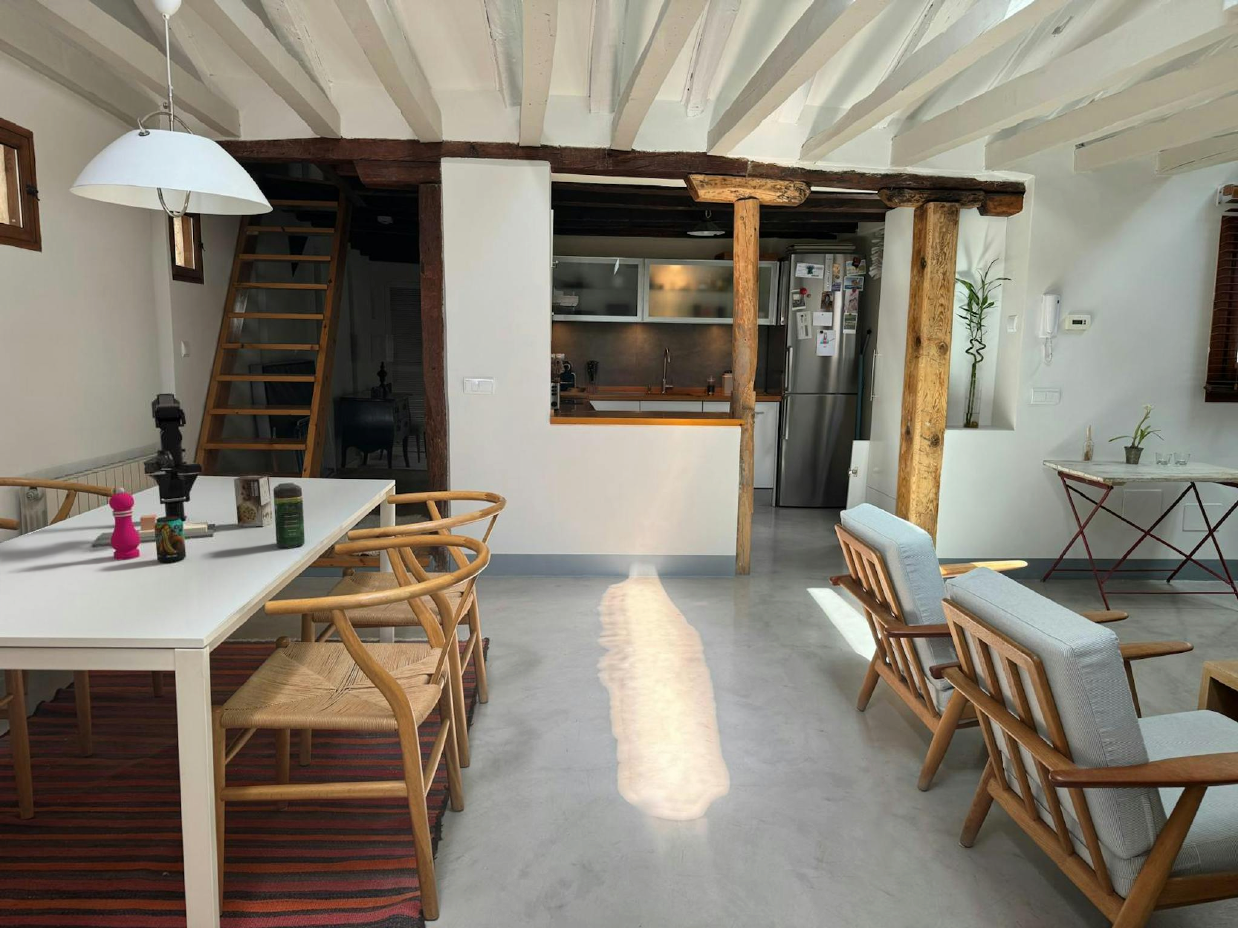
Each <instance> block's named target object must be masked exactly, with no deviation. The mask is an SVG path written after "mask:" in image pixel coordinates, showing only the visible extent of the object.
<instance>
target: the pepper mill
mask: <svg viewBox="0 0 1238 928" xmlns="http://www.w3.org/2000/svg"><path fill="white" fill-rule="evenodd" d="M108 505H109V507H110V508H111V509H112V511H111V513H112V517H113V518H114V529H113V531H112V532H113V534H112V537H111V546H110V547H111V548H112V549H113V550H115V551H114V552H113V559H114V560H118V561H122V560H123V561H124V560H131V559H132V558H133V559H135V558H138V557H140V556H141V555H140V554H141V553H140V549H139V548H138V547H139V546H140V544H141V543H140V537H139V534H138V533H137V531H136V530H137V529H136V527H135V526H134V522H133V516H132V515H134V509H133V507H134V505H135V500H134V497H133V496H132V495H131V493H127V492H125V489H124V487H118V488H117V490H116V493H115V494H113V495H112V496H111V497H110V498H109V501H108ZM133 559H132V560H133Z"/></svg>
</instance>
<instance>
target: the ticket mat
mask: <svg viewBox="0 0 1238 928" xmlns="http://www.w3.org/2000/svg"><path fill="white" fill-rule="evenodd" d="M183 526H184V538H185V540H189V539H190V538H192V539H201V538H211V537H212V538H213V537H214V533H215V530H216V523H208V522H207V521H203V522H193V523H192V522H191V523H183ZM136 531H137V533H138V532H139V531H140V529H136ZM112 534H113V531H110V532H102V533H100V534H99V536H98V537H97V539H96V540H95V541H94V542H93V543H92V548H97V546H101V547H111V537H112ZM138 534H139V533H138ZM153 542H154V543H156V539H155V536H151V537H140V544H144V543H153Z"/></svg>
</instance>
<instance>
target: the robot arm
mask: <svg viewBox="0 0 1238 928" xmlns="http://www.w3.org/2000/svg"><path fill="white" fill-rule="evenodd" d="M150 404H151V405H150V406H151V416H152V419H154V424H155V429H160V430H159V440H160V449H158V450H157V452H156V453H157V454H156V455H155V456H152V457H151V458H149V459H147V460H144V461H143V463H142V464H143V466H144V475H147V476H148V477H150V478H152V479H153V480H154V481H155V482H156V484H157V487H158V494H159V496H158V497H159V504H160V505H164V510H165V511H164V513H165V517H167V516H179V517H180V520H181V521H182V522H183V521H186V520H187V517H188V516H187V515H185V503H188V502H190V501H191V496H190V495H191V491H192V489H193V486H194V483H195V481H196V480H197V478H198V477H199V475H201V473H203V472H204V471H203V470H204V467H203V465H202V464H201V463H200V462H191V463H188V462H187V461H184V457H183V456H184V455H183V453H186V452H187V451H186V448H183V443H182V441H183V434H182V431H181V430H180V429H179V428H184V427H185V425H187V421H186V414H185V411H184V410H183V408H181V402H180V401H179V400H178V399H177V398H175V394H174V393H158V394H156V398H155V399H154V400H153V401H151V403H150Z"/></svg>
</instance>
